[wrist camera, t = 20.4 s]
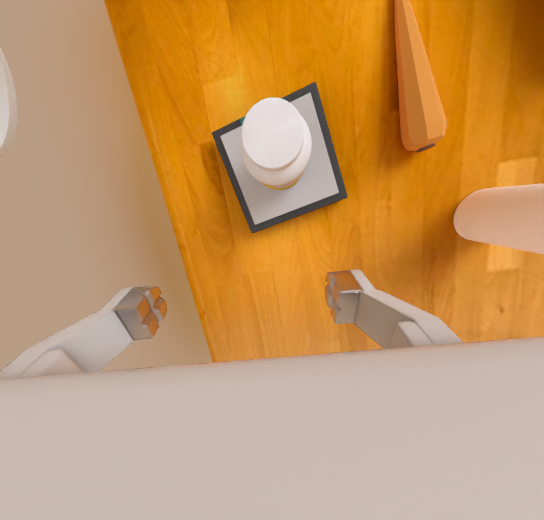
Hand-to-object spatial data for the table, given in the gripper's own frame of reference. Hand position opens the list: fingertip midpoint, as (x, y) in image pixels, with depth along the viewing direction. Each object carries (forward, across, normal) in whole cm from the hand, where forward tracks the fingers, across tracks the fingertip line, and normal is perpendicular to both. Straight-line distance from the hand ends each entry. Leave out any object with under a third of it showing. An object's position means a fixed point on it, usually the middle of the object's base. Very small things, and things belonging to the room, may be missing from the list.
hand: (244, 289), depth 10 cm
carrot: (+25, -20, -13) cm, 34 cm away
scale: (+24, -4, -3) cm, 24 cm away
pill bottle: (+21, -4, -4) cm, 21 cm away
